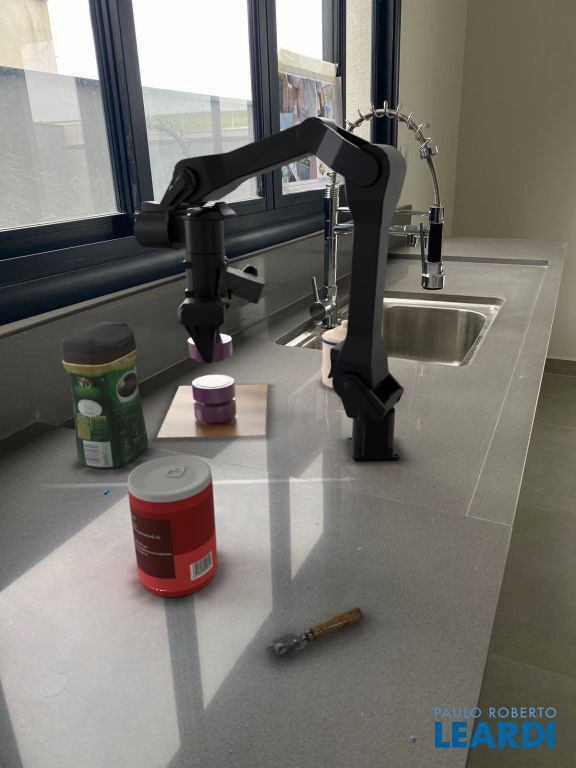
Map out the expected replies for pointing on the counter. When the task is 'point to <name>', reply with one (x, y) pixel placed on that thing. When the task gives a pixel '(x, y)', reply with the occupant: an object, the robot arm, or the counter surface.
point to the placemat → (242, 424)
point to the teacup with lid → (329, 341)
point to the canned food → (173, 524)
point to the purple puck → (213, 389)
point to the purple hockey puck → (220, 349)
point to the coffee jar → (105, 395)
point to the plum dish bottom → (215, 411)
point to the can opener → (316, 631)
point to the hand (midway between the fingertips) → (211, 356)
